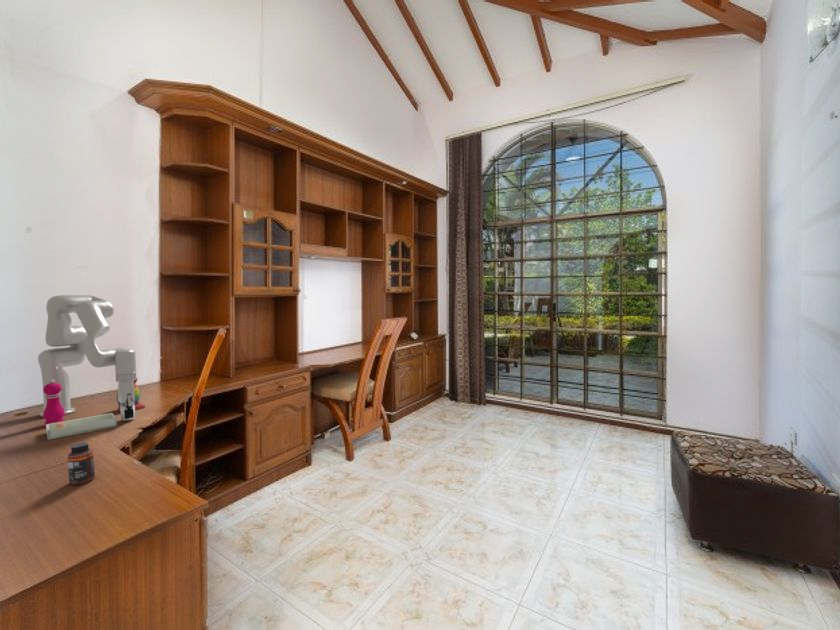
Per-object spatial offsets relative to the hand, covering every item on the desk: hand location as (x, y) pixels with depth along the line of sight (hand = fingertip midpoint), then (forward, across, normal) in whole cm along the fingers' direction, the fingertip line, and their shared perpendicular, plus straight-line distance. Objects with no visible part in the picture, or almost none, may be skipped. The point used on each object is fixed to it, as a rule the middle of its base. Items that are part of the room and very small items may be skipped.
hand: (128, 416), depth 180 cm
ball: (-1, -1, -23) cm, 23 cm away
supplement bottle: (+2, +64, -21) cm, 67 cm away
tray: (+2, +1, -16) cm, 16 cm away
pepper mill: (+2, -18, -24) cm, 30 cm away
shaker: (+1, 0, 0) cm, 1 cm away
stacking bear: (+2, -23, +4) cm, 23 cm away
